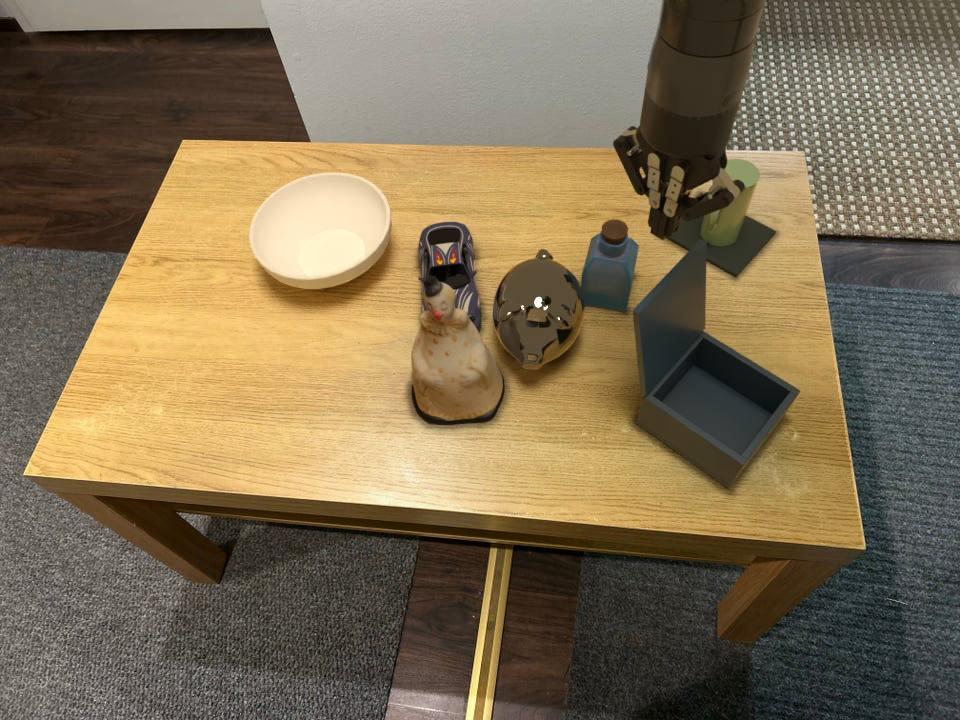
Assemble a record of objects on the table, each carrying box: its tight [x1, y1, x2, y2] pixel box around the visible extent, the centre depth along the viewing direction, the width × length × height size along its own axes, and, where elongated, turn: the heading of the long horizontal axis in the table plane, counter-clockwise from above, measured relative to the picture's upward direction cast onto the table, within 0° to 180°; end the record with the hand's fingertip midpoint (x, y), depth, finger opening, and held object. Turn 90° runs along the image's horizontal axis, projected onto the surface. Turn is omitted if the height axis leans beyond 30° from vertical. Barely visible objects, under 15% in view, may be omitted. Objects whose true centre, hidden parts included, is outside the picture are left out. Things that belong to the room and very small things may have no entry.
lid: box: [632, 239, 707, 396], centre depth 73 cm, size 13×12×1 cm
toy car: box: [418, 221, 482, 333], centre depth 93 cm, size 8×18×5 cm, turn 5°
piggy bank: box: [492, 248, 585, 371], centre depth 85 cm, size 11×15×12 cm
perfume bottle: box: [580, 218, 640, 313], centre depth 88 cm, size 6×6×12 cm
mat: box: [665, 192, 777, 278], centre depth 96 cm, size 12×10×1 cm
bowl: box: [248, 171, 393, 290], centre depth 97 cm, size 20×20×7 cm
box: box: [635, 330, 801, 489], centre depth 79 cm, size 13×12×7 cm
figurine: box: [410, 275, 506, 426], centre depth 78 cm, size 12×10×20 cm
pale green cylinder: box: [700, 158, 761, 247], centre depth 91 cm, size 5×7×11 cm
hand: (661, 231), depth 69 cm, fingers closed
